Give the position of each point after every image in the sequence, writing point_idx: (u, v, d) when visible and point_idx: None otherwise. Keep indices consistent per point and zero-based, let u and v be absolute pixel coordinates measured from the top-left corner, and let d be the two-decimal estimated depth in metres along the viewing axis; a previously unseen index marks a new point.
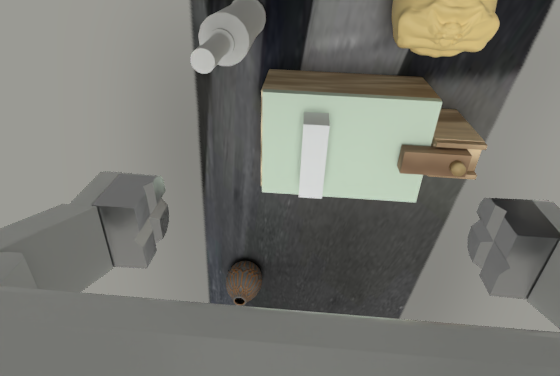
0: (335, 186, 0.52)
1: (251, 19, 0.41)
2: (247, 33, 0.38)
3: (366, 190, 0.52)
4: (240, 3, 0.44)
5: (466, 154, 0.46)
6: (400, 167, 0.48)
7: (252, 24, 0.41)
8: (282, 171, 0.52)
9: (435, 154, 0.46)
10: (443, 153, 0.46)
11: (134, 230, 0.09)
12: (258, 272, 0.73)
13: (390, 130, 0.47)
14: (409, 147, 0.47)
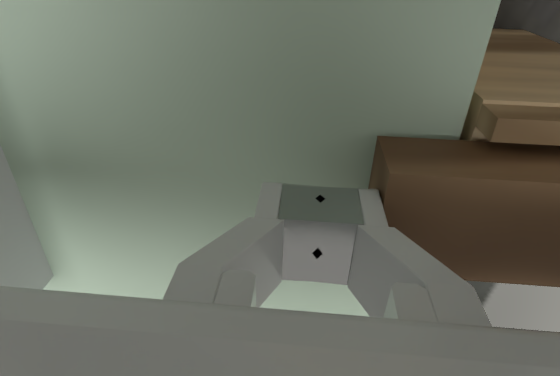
0: (107, 288, 0.14)
1: None
2: None
3: None
4: None
5: None
6: None
7: None
8: None
9: None
10: None
11: (315, 243, 0.08)
12: None
13: (260, 61, 0.10)
14: (414, 147, 0.09)
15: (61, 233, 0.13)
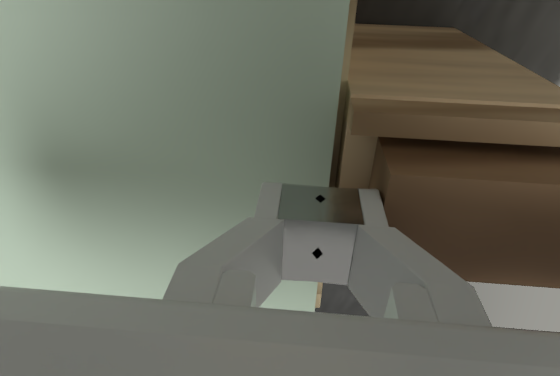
0: (21, 281, 0.15)
1: None
2: None
3: (130, 295, 0.15)
4: None
5: None
6: None
7: None
8: None
9: None
10: None
11: (315, 243, 0.08)
12: None
13: (130, 55, 0.10)
14: (415, 148, 0.09)
15: None
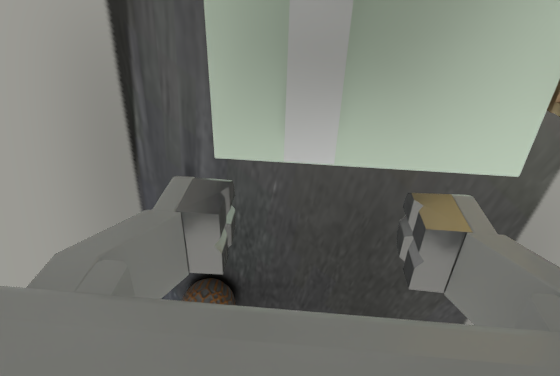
0: (359, 144, 0.26)
1: None
2: None
3: (421, 151, 0.26)
4: None
5: None
6: None
7: None
8: (252, 113, 0.26)
9: None
10: None
11: (215, 236, 0.08)
12: (229, 297, 0.47)
13: (487, 9, 0.21)
14: None
15: (348, 107, 0.25)
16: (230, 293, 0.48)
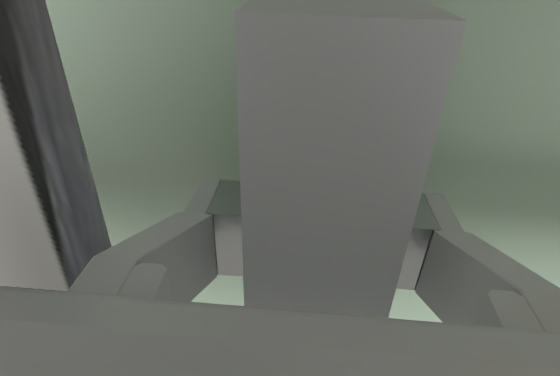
0: None
1: None
2: None
3: None
4: None
5: None
6: None
7: None
8: None
9: None
10: None
11: None
12: None
13: None
14: None
15: None
16: None
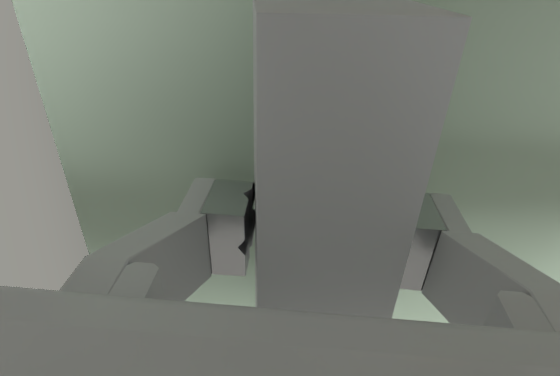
0: None
1: None
2: None
3: None
4: None
5: None
6: None
7: None
8: None
9: None
10: None
11: (239, 238, 0.08)
12: None
13: None
14: None
15: None
16: None
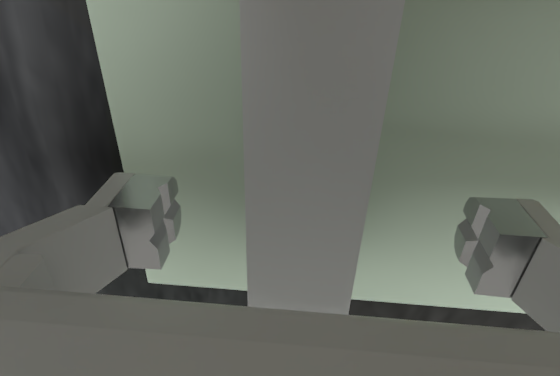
0: (383, 272, 0.16)
1: None
2: None
3: None
4: None
5: None
6: None
7: None
8: (203, 224, 0.15)
9: None
10: None
11: (149, 231, 0.08)
12: None
13: None
14: None
15: (367, 220, 0.14)
16: None
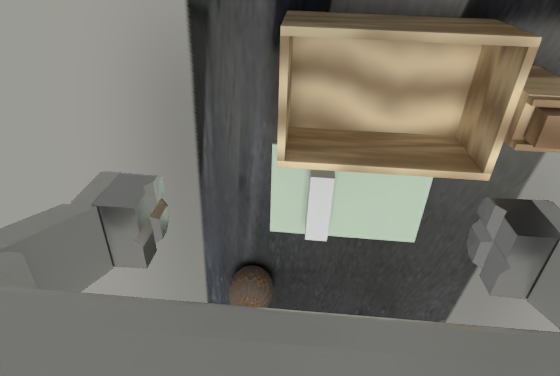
0: (339, 227, 0.56)
1: None
2: None
3: (368, 230, 0.56)
4: None
5: None
6: (535, 139, 0.33)
7: None
8: (289, 213, 0.55)
9: None
10: None
11: (134, 230, 0.09)
12: (269, 280, 0.59)
13: (391, 179, 0.51)
14: (549, 110, 0.33)
15: (334, 212, 0.54)
16: (269, 277, 0.60)
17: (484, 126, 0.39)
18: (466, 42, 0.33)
